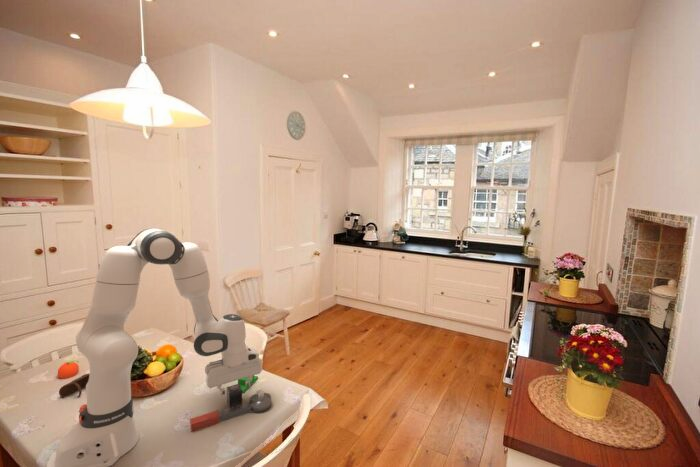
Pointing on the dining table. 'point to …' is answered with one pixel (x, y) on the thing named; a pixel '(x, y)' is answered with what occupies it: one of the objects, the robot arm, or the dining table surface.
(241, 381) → the pipe clamp
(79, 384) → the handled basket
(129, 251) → the robot arm
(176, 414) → the dining table surface
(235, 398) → the socket
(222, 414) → the ratchet
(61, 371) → the orange tomato
